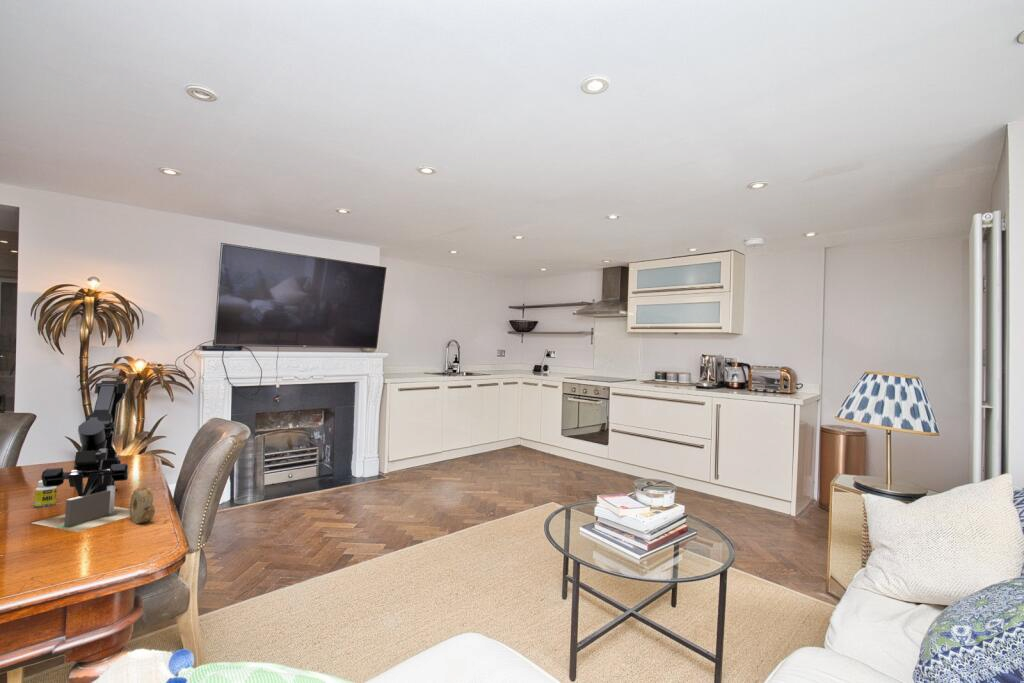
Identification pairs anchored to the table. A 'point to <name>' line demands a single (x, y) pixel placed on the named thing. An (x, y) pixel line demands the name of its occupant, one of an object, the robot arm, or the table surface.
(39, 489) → the supplement bottle
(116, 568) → the table surface
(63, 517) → the cream square board
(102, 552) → the table surface
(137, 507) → the stone disc
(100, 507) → the grey upright slab
